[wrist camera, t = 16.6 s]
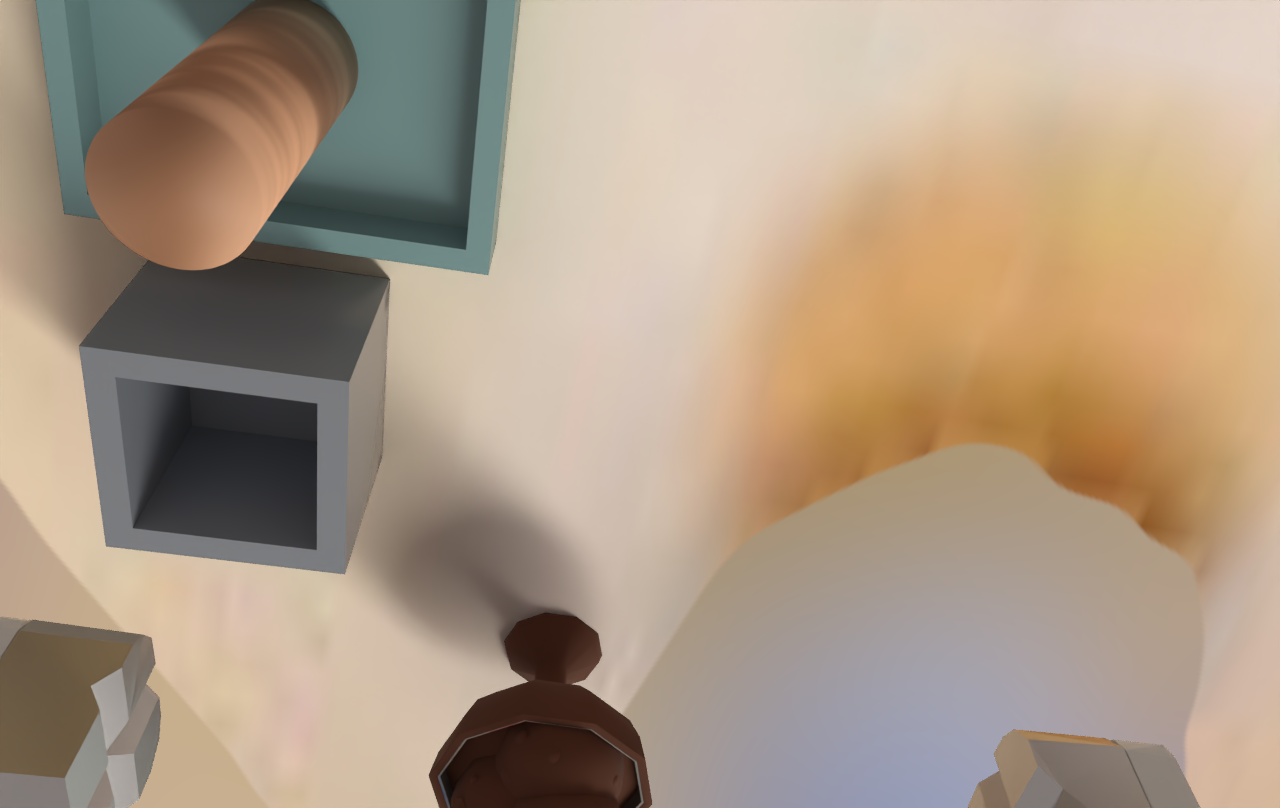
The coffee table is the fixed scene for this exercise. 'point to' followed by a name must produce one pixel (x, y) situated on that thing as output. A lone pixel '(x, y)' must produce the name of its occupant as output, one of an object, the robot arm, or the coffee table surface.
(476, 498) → the coffee table surface
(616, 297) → the coffee table surface
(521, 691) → the ice cream bowl
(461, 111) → the tray
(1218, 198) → the coffee table surface
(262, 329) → the grey open square box
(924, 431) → the coffee table surface
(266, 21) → the peg
